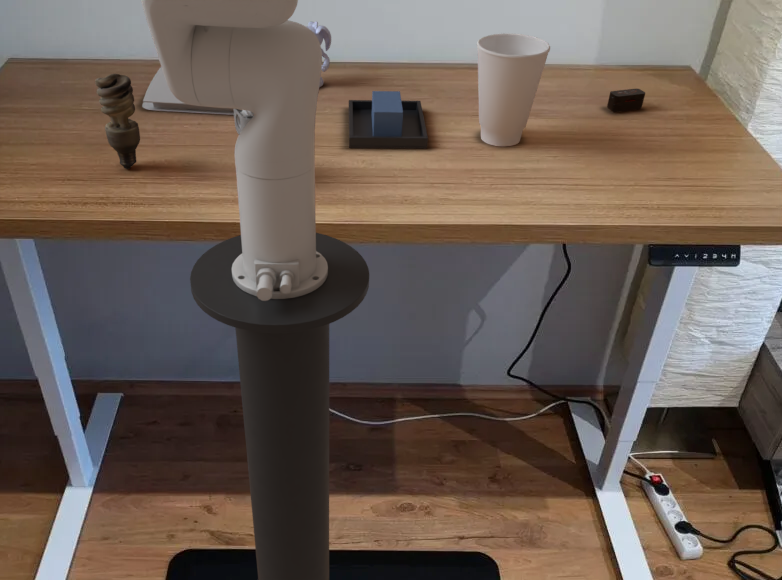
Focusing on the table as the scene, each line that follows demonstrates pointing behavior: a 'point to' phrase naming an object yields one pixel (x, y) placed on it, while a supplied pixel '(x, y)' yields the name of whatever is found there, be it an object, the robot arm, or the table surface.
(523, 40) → the cup
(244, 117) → the mechanical component
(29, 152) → the table surface
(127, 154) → the light bulb
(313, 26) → the toy figurine
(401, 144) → the black tray
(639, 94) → the wireless earbuds
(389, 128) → the rectangular block
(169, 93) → the book
